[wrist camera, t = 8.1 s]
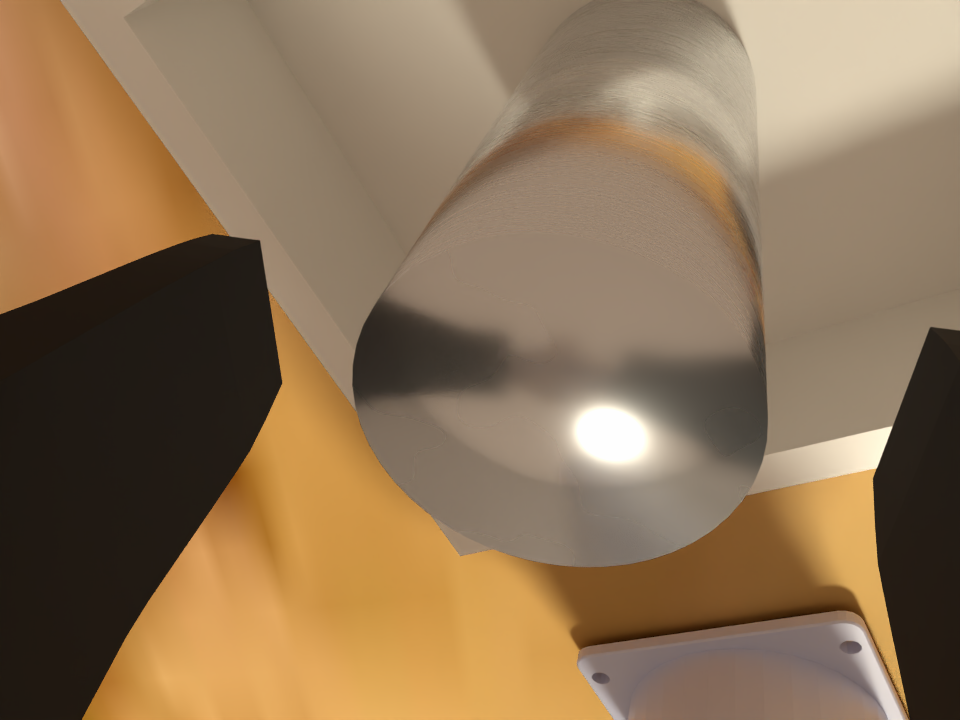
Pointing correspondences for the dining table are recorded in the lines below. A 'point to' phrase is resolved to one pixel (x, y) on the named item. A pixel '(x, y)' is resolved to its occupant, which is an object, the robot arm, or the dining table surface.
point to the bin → (475, 106)
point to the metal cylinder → (587, 303)
